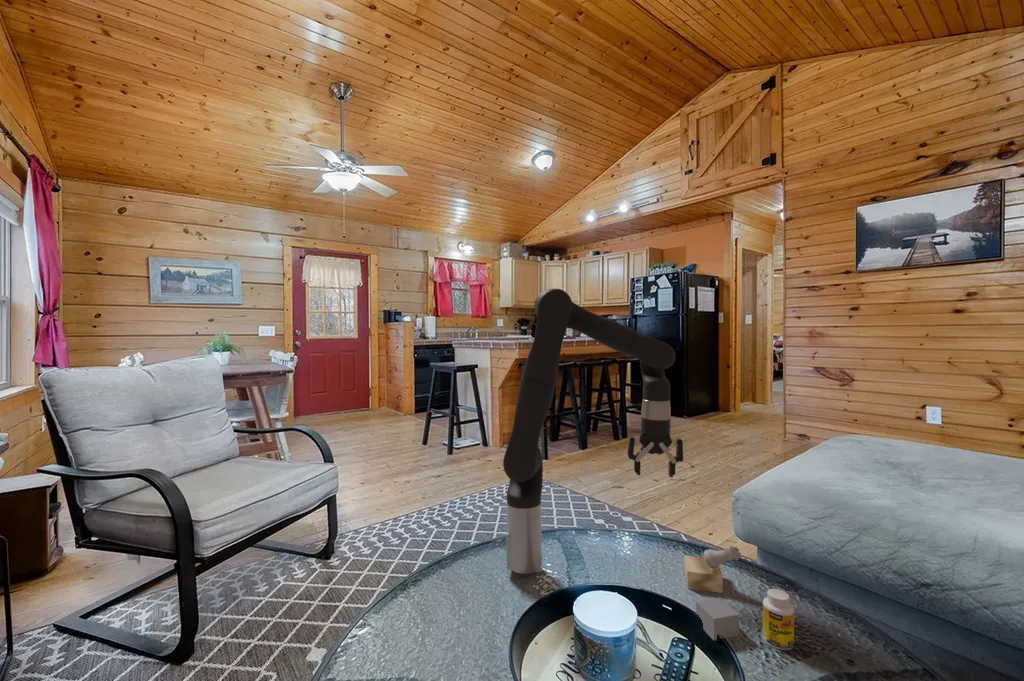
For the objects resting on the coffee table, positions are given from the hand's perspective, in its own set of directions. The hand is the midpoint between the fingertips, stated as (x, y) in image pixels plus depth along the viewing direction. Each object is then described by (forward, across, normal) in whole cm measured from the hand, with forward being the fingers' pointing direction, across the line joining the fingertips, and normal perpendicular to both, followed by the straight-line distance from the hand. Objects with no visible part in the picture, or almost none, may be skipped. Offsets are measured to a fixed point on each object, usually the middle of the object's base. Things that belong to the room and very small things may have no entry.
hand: (654, 475), depth 121 cm
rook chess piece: (+18, +12, -8) cm, 23 cm away
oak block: (+25, +11, -8) cm, 28 cm away
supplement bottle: (+24, +20, -28) cm, 42 cm away
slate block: (+25, +9, -25) cm, 37 cm away
